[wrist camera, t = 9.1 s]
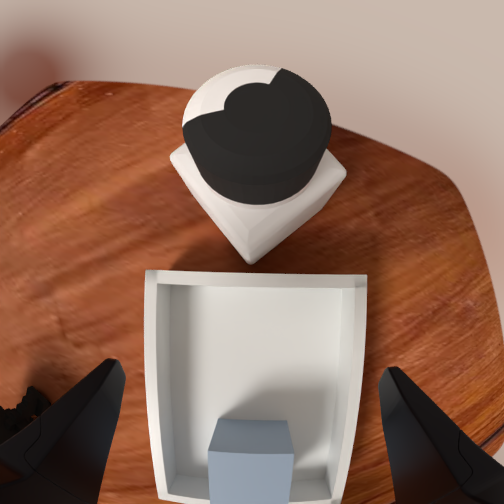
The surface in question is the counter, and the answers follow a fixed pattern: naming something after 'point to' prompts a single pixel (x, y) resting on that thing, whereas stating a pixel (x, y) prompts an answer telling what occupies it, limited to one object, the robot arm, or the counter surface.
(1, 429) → the security camera
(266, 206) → the medicine bottle
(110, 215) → the counter surface
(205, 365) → the tote
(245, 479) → the block
